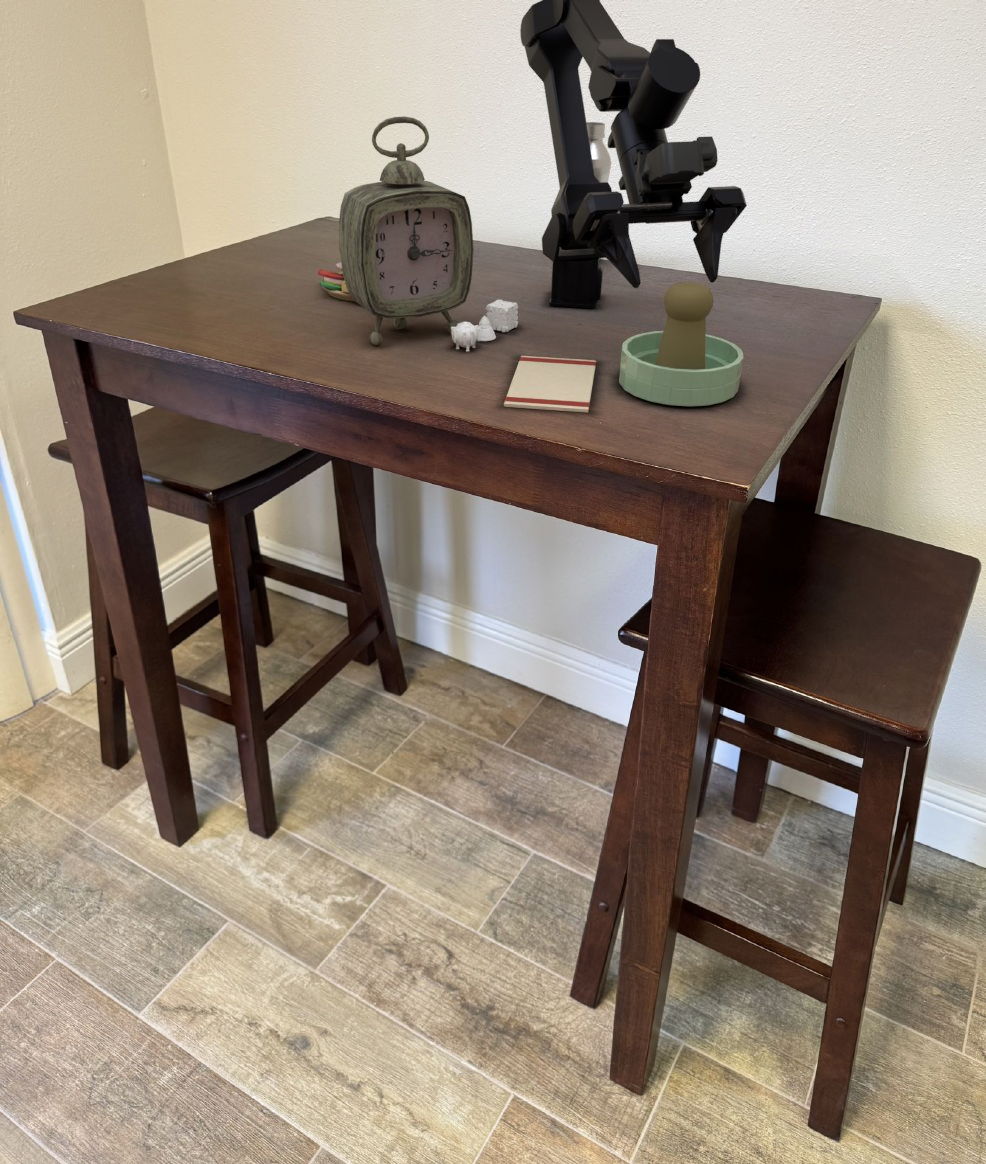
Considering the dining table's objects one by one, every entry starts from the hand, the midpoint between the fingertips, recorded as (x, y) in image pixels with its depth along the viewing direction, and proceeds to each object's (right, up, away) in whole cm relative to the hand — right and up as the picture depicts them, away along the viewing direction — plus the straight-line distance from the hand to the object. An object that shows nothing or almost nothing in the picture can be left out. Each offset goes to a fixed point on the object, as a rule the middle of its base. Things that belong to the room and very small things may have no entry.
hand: (676, 283), depth 103 cm
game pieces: (-21, -2, +16) cm, 27 cm away
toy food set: (-38, +9, +32) cm, 51 cm away
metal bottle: (-5, +19, +48) cm, 52 cm away
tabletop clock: (-31, -1, +17) cm, 36 cm away
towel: (-13, -10, +3) cm, 17 cm away
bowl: (+1, -11, +3) cm, 11 cm away
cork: (+1, -10, +3) cm, 11 cm away
